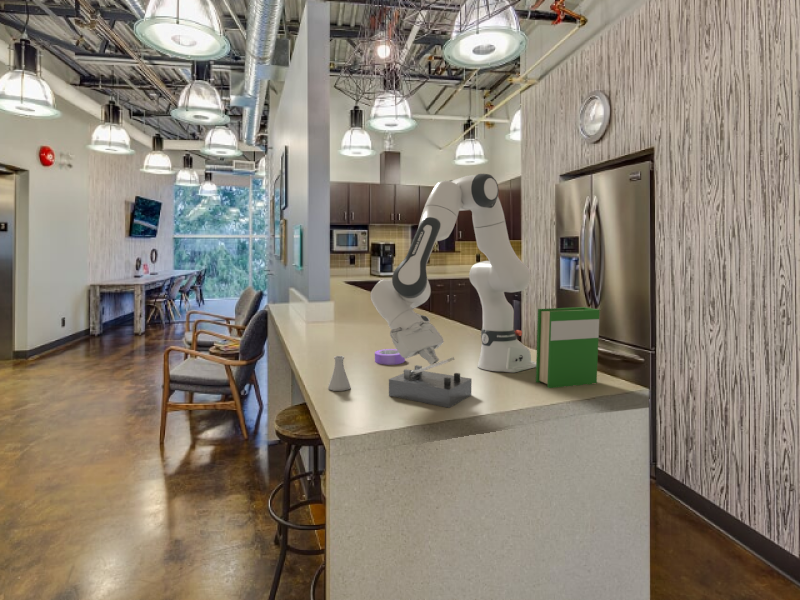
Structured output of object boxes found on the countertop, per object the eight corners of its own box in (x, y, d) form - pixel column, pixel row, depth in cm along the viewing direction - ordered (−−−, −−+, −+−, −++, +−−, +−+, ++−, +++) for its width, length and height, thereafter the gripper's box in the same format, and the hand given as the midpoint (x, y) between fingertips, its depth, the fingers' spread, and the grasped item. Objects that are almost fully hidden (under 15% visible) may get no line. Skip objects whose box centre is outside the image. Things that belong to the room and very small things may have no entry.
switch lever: (408, 377, 142) (406, 372, 142) (415, 374, 146) (413, 370, 146) (448, 363, 134) (446, 358, 135) (455, 360, 138) (453, 355, 138)
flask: (332, 393, 144) (331, 360, 143) (324, 387, 150) (324, 355, 149) (354, 389, 147) (354, 357, 146) (346, 384, 153) (345, 353, 152)
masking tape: (378, 365, 179) (378, 355, 178) (371, 359, 190) (371, 349, 189) (408, 363, 182) (408, 354, 182) (399, 357, 193) (399, 348, 193)
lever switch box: (388, 395, 141) (388, 370, 140) (413, 384, 152) (414, 361, 152) (449, 407, 130) (449, 380, 129) (471, 395, 141) (471, 370, 141)
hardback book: (549, 388, 149) (551, 311, 146) (535, 381, 156) (537, 308, 153) (596, 383, 154) (599, 309, 152) (581, 377, 161) (584, 307, 159)
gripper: (393, 323, 133) (423, 362, 129) (430, 316, 150) (457, 350, 146) (380, 337, 136) (409, 376, 132) (418, 328, 153) (444, 362, 149)
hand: (435, 362), depth 139 cm, fingers closed, pressing on switch lever
